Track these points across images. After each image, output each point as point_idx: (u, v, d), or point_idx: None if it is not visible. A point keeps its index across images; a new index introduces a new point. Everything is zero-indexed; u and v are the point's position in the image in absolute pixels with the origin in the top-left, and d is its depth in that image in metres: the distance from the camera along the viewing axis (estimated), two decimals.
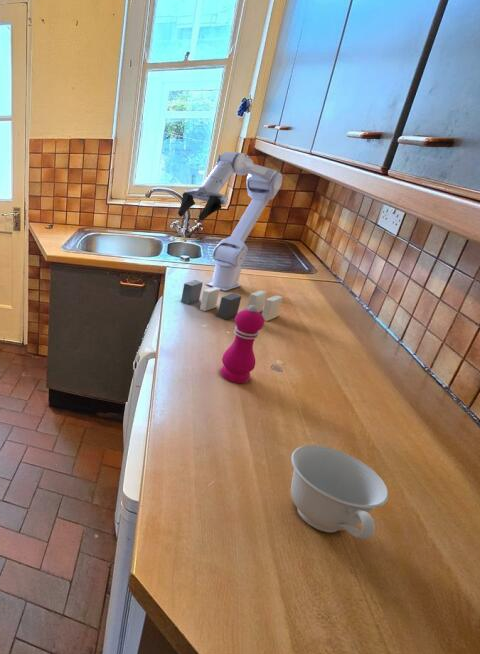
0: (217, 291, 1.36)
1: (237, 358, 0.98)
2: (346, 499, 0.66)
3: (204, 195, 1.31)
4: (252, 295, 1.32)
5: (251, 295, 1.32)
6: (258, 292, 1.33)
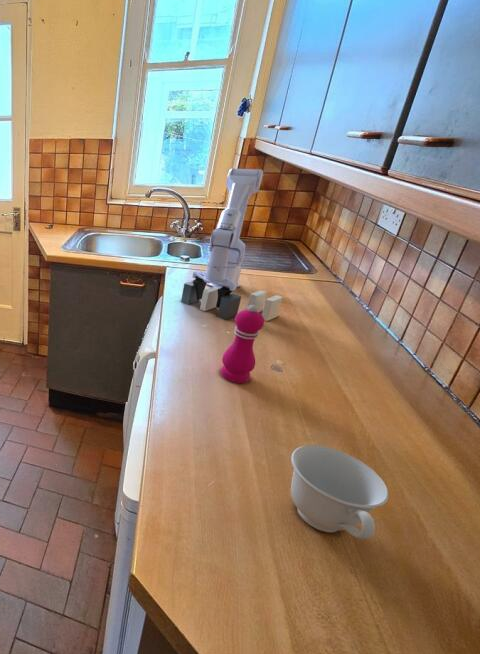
0: (217, 291, 1.36)
1: (237, 358, 0.98)
2: (346, 499, 0.66)
3: None
4: (252, 295, 1.32)
5: (251, 295, 1.32)
6: (258, 292, 1.33)
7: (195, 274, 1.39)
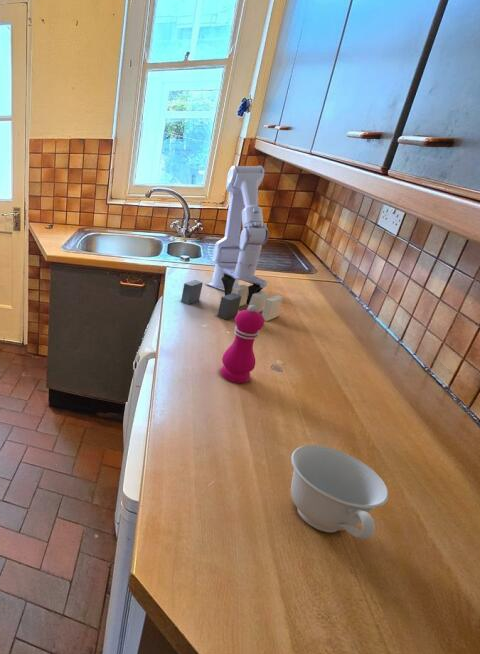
0: (246, 289, 1.38)
1: (237, 358, 0.98)
2: (346, 499, 0.66)
3: None
4: (254, 295, 1.31)
5: (253, 295, 1.31)
6: (260, 292, 1.32)
7: (224, 271, 1.40)
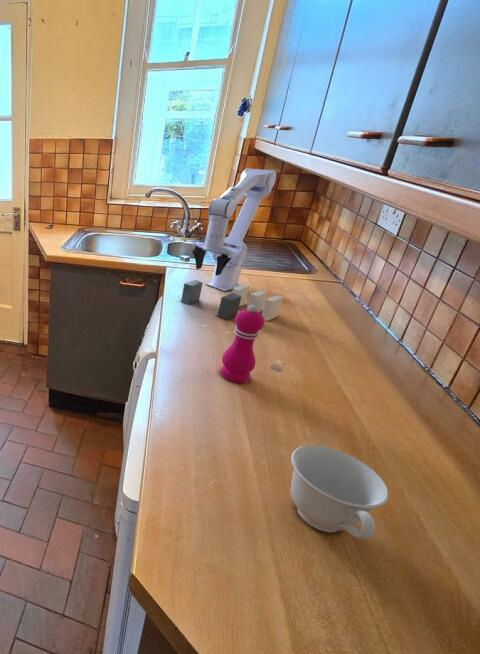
0: (246, 289, 1.38)
1: (237, 358, 0.98)
2: (346, 499, 0.66)
3: None
4: (252, 295, 1.32)
5: (251, 295, 1.32)
6: (258, 292, 1.33)
7: (195, 244, 1.45)
